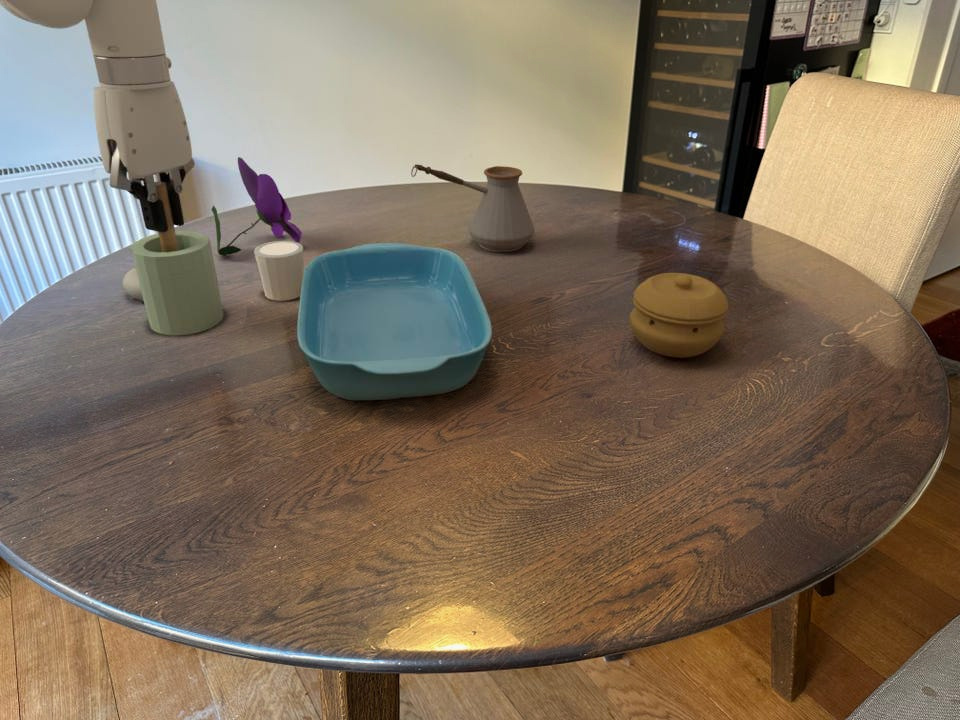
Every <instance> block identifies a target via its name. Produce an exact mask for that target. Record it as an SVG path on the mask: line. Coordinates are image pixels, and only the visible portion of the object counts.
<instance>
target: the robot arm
mask: <svg viewBox="0 0 960 720" xmlns="http://www.w3.org/2000/svg"><path fill="white" fill-rule="evenodd" d="M0 6H2V7H3V8H4V9H5V10H6V11H7V12H9V13H10V14H11V15H13V16H15V17H16V18H19V19H20V20H23V21H26V22H28V23H32V24H35V25H39V26H41V27H45V28H50V29H55V30H56V29H58V30H59V29H60V30H61V29H68V28H72V27H75V26H77V25H79V24H80V23H82V22H83V21H85V26H86V30H87V34H88V39H89V45H90V48H91V52H92V56H93V60H94V65H95V69H96V73H97V78H98V82H99V86H96V87H94V88H93V89H94V90H93V95H94V96H93V104H94V105H93V108H94V109H93V110H94V121H95V129H96V135H97V141H98V142H97V143H98V147H99V152H100V153H99V154H100V158H101V161H102V166H103V167H104V171H105V172H106V173H107V174H109V186H110V188H113V189H117V190H122V191H126V192H128V193H129V194H131V195H132V197H133V199H135V200H139V205H140V209H141V214H142V218H143V222H144V227H145V228H146V230H148V231H153V232H157V233H158V232H163V233H164V232H166V231H168V225H167V220H166V215H165V210H164V205H163V202H162V200H157V198H158V197H157V191H156V186H155V182H156V181H157V182H165V183H166V187H167V192H168V198H169V203H170V208H171V213H172V218H173V223H174V226H177V227H182V226H184V225H185V218H184V213H183V209H182V204H181V203H182V202H181V198H180V194H181V193H182V192H183V190H184V189H183V182H184V180H185V178H186V176H187V174H188V173H190V171H192V170H193V168H194V167H195V164H196V163H195V160H194V158H193V148H192V142H191V137H190V131H189V127H188V122H187V118H186V114H185V112H184V108H183V105H182V102H181V98H180V96H179V93H178V90H177V87H176V85H175V83H174V81H172V80H171V74H170V70H169V69H171V68H172V61H171V59H170V58H169V57H167V54H166V53H167V52H166V47H165V42H164V36H163V31H162V26H161V20H160V14H159V9H158V4H157V0H0ZM154 175H156V179H157V180H156V181H155V177H154Z"/></svg>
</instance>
